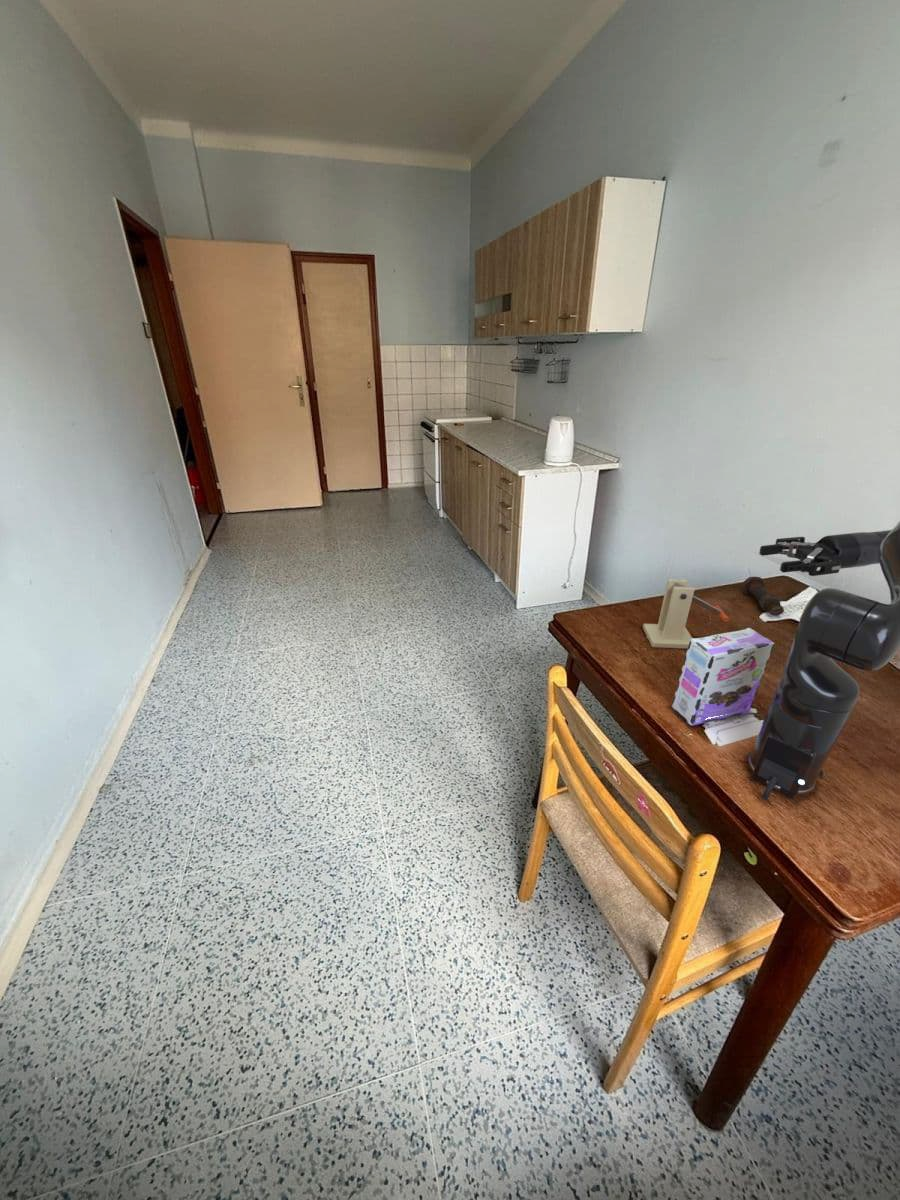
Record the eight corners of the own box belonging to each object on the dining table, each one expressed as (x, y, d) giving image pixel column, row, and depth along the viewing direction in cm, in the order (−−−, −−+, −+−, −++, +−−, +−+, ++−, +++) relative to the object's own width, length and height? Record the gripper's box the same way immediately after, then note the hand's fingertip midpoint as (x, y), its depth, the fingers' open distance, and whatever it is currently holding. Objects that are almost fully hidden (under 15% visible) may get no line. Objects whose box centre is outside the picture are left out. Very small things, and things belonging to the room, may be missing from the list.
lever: (714, 612, 114) (721, 604, 113) (724, 624, 109) (732, 617, 108) (667, 586, 112) (673, 578, 111) (675, 598, 107) (682, 590, 106)
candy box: (690, 727, 89) (712, 655, 81) (670, 707, 94) (688, 637, 86) (750, 713, 92) (777, 642, 84) (727, 694, 97) (750, 625, 89)
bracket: (683, 629, 119) (696, 576, 112) (695, 649, 111) (711, 593, 104) (642, 627, 120) (653, 575, 113) (652, 647, 112) (664, 592, 105)
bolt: (770, 623, 124) (745, 595, 137) (791, 616, 122) (763, 588, 135) (764, 607, 122) (739, 580, 134) (785, 599, 120) (758, 572, 133)
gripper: (832, 522, 107) (756, 531, 109) (878, 548, 95) (793, 557, 97) (823, 552, 111) (751, 560, 113) (867, 580, 99) (785, 589, 100)
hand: (770, 558), depth 105 cm, fingers open, 8 cm apart
